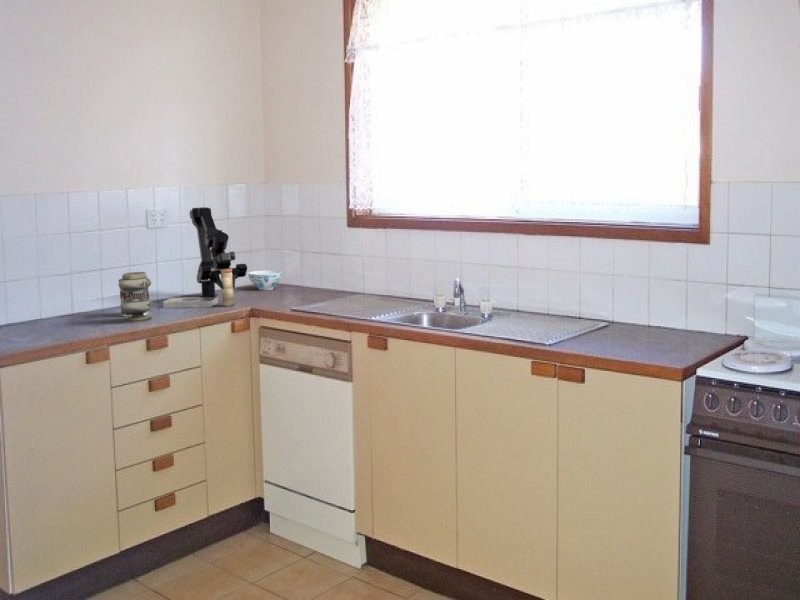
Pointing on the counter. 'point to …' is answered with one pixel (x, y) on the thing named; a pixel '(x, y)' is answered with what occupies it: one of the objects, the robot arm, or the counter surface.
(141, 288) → the apothecary jar
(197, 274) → the robot arm
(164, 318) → the counter surface
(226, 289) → the peg
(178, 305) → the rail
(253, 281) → the chinaware
